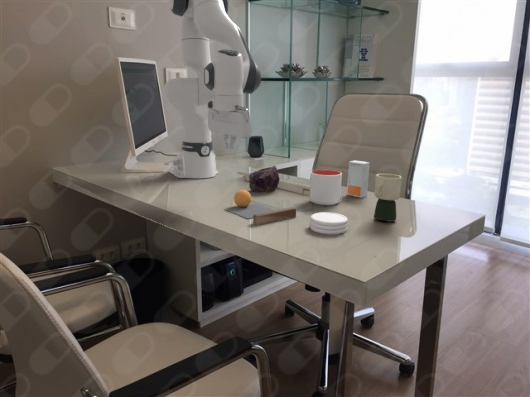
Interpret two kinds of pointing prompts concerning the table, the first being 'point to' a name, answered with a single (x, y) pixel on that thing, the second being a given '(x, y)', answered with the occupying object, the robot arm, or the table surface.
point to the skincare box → (358, 178)
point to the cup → (325, 187)
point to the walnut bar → (274, 215)
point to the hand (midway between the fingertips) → (228, 148)
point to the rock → (264, 179)
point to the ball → (242, 198)
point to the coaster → (328, 223)
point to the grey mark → (249, 210)
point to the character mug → (387, 196)
